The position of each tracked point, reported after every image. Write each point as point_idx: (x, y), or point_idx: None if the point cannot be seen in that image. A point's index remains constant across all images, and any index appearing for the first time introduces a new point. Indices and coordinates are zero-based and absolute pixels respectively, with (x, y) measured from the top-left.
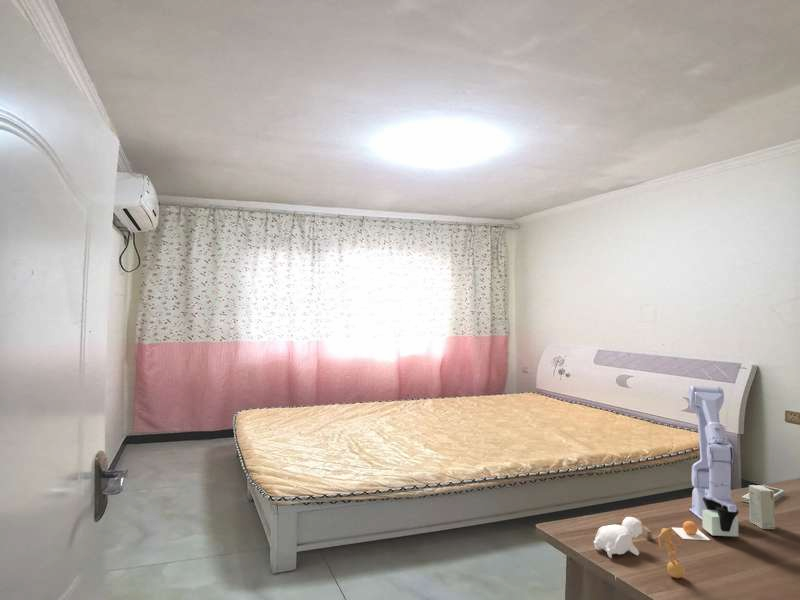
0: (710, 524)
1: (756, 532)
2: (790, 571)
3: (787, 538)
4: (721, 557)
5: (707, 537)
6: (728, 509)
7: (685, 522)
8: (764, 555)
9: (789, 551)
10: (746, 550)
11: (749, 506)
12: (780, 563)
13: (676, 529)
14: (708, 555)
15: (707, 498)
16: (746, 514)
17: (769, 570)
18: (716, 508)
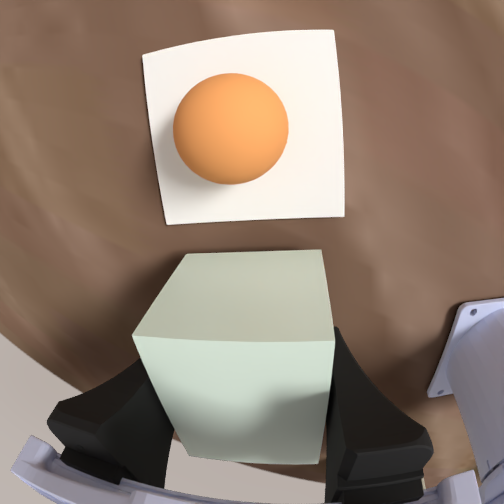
0: (186, 288)
1: (324, 436)
2: (39, 361)
3: (283, 469)
4: (14, 200)
5: (200, 222)
6: (34, 448)
7: (224, 89)
8: (105, 366)
9: (178, 437)
10: (118, 335)
11: (423, 487)
12: (72, 371)
13: (299, 52)
14: (11, 151)
15: (140, 496)
16: (462, 440)
17: (12, 313)
18: (88, 423)
